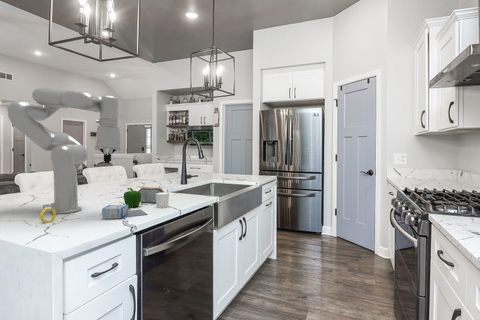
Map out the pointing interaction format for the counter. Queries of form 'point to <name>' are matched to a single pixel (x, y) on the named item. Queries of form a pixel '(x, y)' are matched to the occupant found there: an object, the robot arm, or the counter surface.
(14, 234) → the counter surface
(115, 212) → the medicine box
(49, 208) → the yellow ring
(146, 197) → the grey curved block
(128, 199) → the bell pepper
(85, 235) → the counter surface
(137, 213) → the mat
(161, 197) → the shot glass
